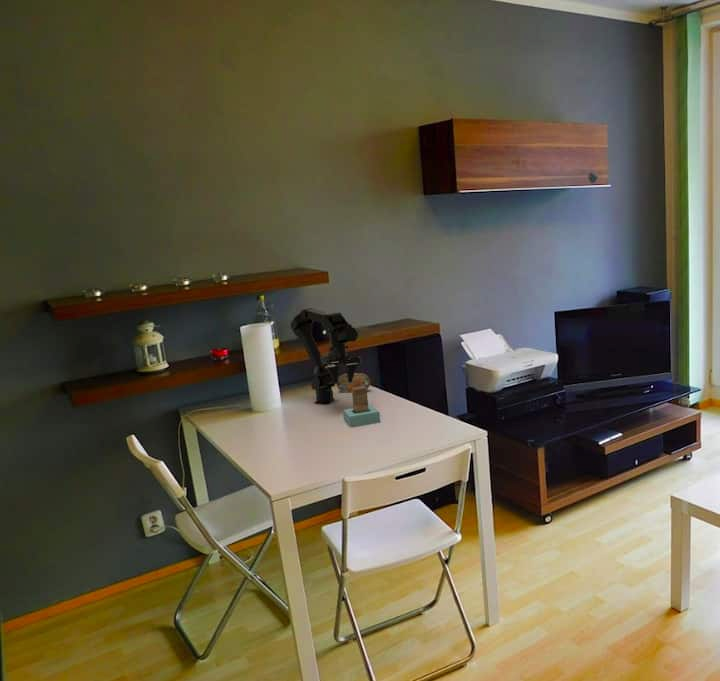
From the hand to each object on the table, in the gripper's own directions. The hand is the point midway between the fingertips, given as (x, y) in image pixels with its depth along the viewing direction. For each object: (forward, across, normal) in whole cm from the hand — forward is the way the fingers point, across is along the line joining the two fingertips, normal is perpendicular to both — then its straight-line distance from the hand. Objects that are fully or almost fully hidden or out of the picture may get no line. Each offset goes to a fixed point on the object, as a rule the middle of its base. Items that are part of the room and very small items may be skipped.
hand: (342, 383), depth 243 cm
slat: (+15, +13, -4) cm, 20 cm away
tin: (+6, -20, +21) cm, 30 cm away
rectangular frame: (+15, +13, -4) cm, 20 cm away
